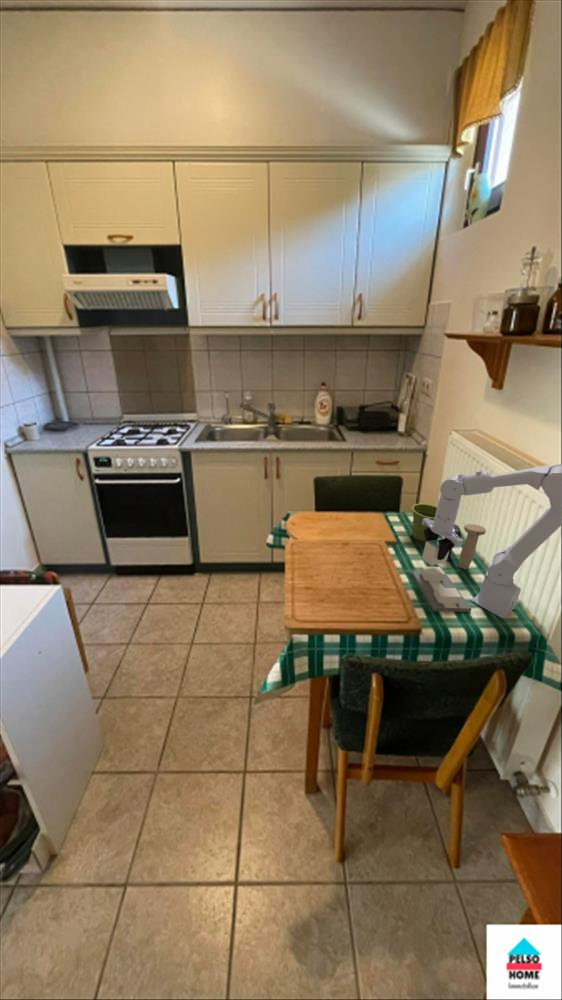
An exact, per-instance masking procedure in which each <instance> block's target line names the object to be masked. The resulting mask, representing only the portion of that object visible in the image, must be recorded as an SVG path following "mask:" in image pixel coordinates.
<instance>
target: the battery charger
mask: <svg viewBox="0 0 562 1000" xmlns="http://www.w3.org/2000/svg"><path fill="white" fill-rule="evenodd" d="M453 528H454V530H453V531H454V532H455V533H456V534H457V535H458V536H459V537H460V538H461V539H462V531H461V529H460V526H459V525H457V524H454V527H453ZM455 547H456V546H455V545H454V546H453V547H452V548H451V549H450V550H449V552H448V556H447V560H446V561H453V558H454V556H453V553H452V550H453V548H455Z"/></svg>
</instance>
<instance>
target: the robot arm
mask: <svg viewBox="0 0 562 1000" xmlns="http://www.w3.org/2000/svg"><path fill="white" fill-rule="evenodd" d="M524 485H528V486H530V487H531V488H534V489H535V490H537V491H539V490H540V487H541V489H542V491H543V493H544V494H545V495H546V497H547V498H548V500H549V504H550V507H548V509H546V510H545V512H544V513H543V514H542V515H541V516H539V518H537V519H536V521H535V522H534V523H533V524H532V525H531V526H529V528H528V529H527V530H526V531H524V533H522V535H521V536H519V537H518V538H517V540H515V542H513V544H511V546H508V547H507V548H506V549H504V550H503V551H500V552H497V553H496V554H495V555H494V557H493V560H492V563H491V564H490V566H489V567H488V568H487V571H486V572H485V575H484V577H483V581H482V584H481V586H480V590H479V592H478V594H477V595H476V596H475V597H473V598H472V599H471V602H473V603H474V604H476V605H478V606H480V607H482V608H483V609H485V610H487V611H488V612H491V614H494V615H495V616H498V617H499V618H501V619H504V618H505V617H507V616H508V615H509V614H510V613H511V612H513V611H514V610H516V609H515V607H516V604H517V602H518V600H519V596H520V594H521V587H519V586H518V585H516V584H515V582H514V575H515V574H516V572H517V571H518V570H519V569H520V568H521V566H522V564H523V563H524V562H525V560H526V559H528V558H529V557H530V556H531V555H532V554H533V553H534V552H536V550H538V548H539V547H540V546H541V545H542V544H543V543H544V542H546V541H547V540H548V539H549V538H550V537H551V536H552V535H553V534H554V533H555V532H556V531H558V529H559V528H560V527H561V526H562V464H555V465H552V466H551V465H542V466H541V465H540V466H535V467H530V468H525V469H519V470H514V471H508V472H505V473H503V472H502V473H499V474H492V473H490V472H488V471H483V470H482V469H481V470H476V472H475V473H472V474H471V473H470V474H463V473H460V474H458V475H451V476H449V477H447V478H446V479H445V480H444V481H443V482H442V483H441V485H440V487H439V490H440V491H439V492H440V495H439V499H438V503H437V506H436V507H437V510H436V514H435V518H434V521H433V520H430V519H429V518H424V519H423V521H422V525H426V526H427V527H428V528H427V529H425V530H424V534H425V538H426V541H425V543H426V542H427V541H432V540H438V539H440V540H439V552H438V556H437V559H438V560H443V559H444V558H445V556H446V555H447V553H448V552H449V550H450V549H451V548H452V547H453V546H454V545H455V547H461V546H462V547H463V542H464V540H463V538H462V537H461V538H460V537H459V536H458V535H457V534H456V533H455V532H454V531H453V530H454V528H453V527H454V525H455V522H456V519H457V515H458V511H459V507H460V503H461V500H462V499H461V498H462V496H472V495H473V496H474V495H481V494H488V493H491V492H493V489H494V488H501V487H512V486H513V487H514V486H524ZM440 536H441V537H443V538H439V537H440ZM453 548H454V547H453ZM453 548H452V549H453ZM513 609H514V610H513ZM512 610H513V611H512Z"/></svg>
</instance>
